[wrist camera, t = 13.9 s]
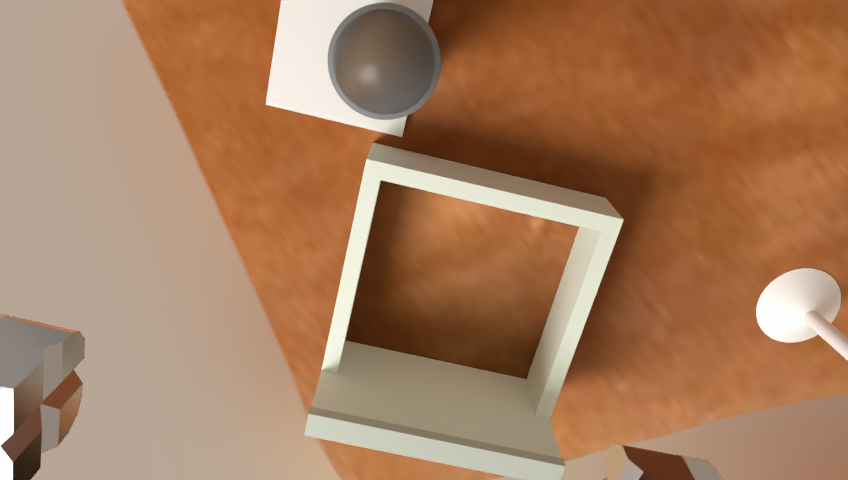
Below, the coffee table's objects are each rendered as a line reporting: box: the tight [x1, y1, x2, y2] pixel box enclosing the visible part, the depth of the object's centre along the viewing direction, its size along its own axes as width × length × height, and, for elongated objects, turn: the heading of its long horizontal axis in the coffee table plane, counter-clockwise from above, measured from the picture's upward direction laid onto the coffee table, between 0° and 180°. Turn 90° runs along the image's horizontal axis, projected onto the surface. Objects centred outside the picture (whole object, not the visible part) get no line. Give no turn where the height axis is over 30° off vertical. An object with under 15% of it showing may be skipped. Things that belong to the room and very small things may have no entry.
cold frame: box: [304, 143, 624, 480], centre depth 47 cm, size 18×18×11 cm
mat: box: [266, 0, 433, 137], centre depth 46 cm, size 10×10×1 cm
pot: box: [328, 2, 441, 120], centre depth 41 cm, size 6×6×9 cm
